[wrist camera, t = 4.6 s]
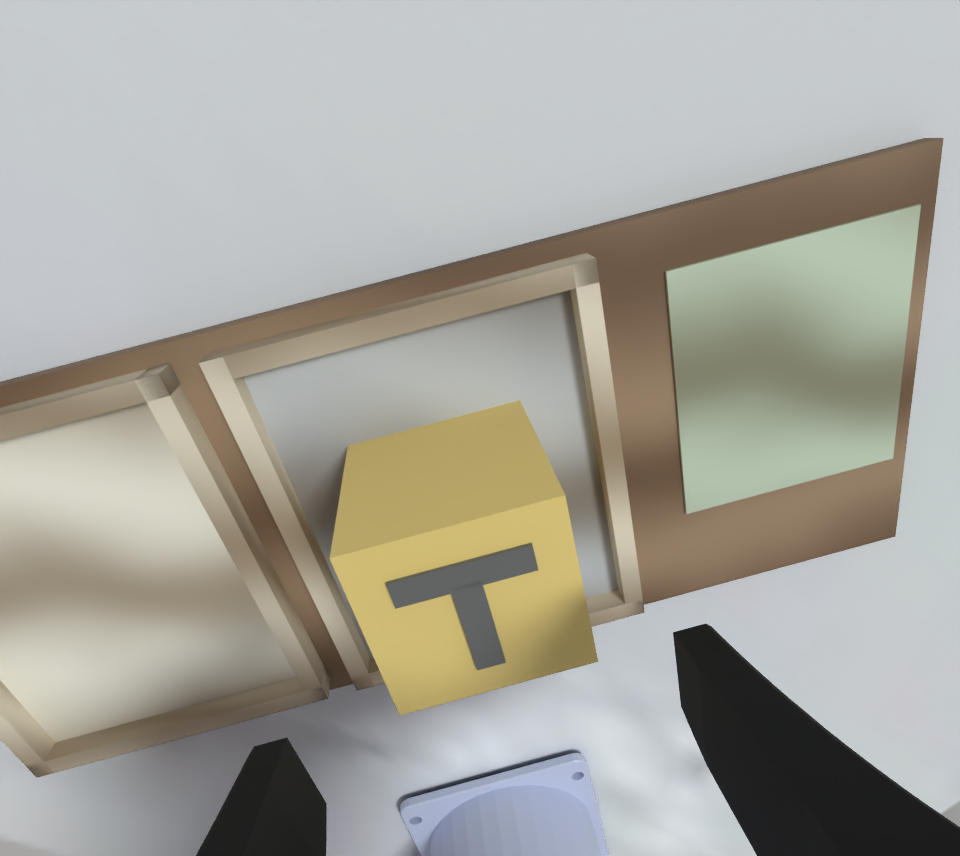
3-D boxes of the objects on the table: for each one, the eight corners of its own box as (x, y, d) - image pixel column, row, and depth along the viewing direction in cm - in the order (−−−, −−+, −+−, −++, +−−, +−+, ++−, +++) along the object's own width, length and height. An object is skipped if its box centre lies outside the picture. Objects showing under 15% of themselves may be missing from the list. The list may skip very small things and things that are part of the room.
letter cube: (550, 538, 19) (599, 664, 14) (399, 579, 19) (399, 719, 14) (519, 399, 16) (566, 498, 12) (347, 445, 16) (329, 561, 12)
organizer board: (882, 526, 21) (912, 550, 20) (52, 751, 21) (30, 790, 20) (924, 138, 15) (970, 137, 14) (-228, 442, 15) (-284, 469, 14)
